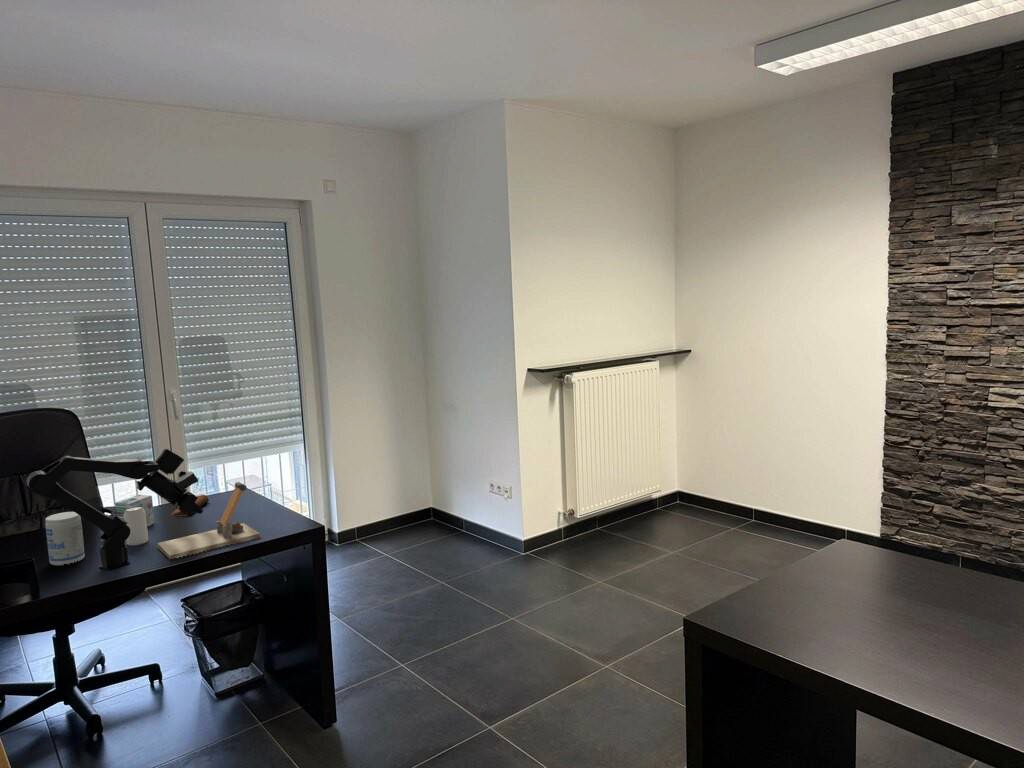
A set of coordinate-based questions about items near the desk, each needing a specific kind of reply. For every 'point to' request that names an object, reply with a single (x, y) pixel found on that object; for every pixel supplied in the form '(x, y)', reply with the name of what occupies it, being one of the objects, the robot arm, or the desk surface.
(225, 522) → the lever
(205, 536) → the board
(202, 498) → the brown bread roll
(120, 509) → the light bulb box
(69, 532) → the supplement tub
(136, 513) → the can
